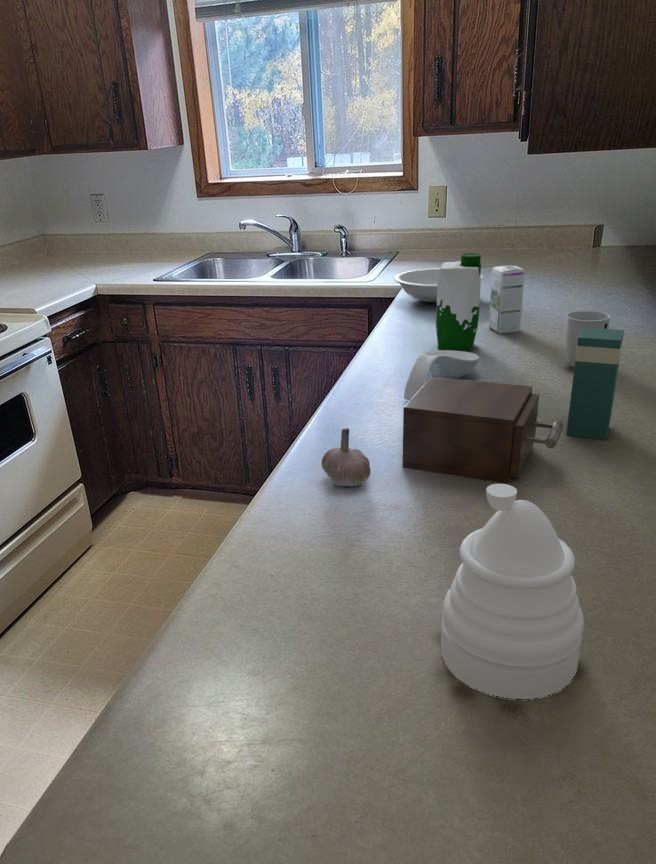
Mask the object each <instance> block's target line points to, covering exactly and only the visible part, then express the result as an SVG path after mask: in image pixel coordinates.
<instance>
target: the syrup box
mask: <svg viewBox="0 0 656 864" xmlns="http://www.w3.org/2000/svg"><path fill="white" fill-rule="evenodd" d="M491 271H492V272H491V285H490V304H489V320H488V321H489V323H488V328H489V329H490V330H492V331H494V332H495V333H497V334H511V333H520V332H521V326H522V325H521V324H522V313H523V312H522V311H523V299H524V286H525V285H524V283H525V271H526V270H525V269H524V268H522V267H519V266H516V265H499V266H494V267H492V270H491Z"/></svg>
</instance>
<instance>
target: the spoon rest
mask: <svg viewBox="0 0 656 864" xmlns="http://www.w3.org/2000/svg"><path fill="white" fill-rule="evenodd" d="M479 361H480V356H479V355H478V354H476V353H474V352H464V351H452V350H438V349H436V350H429V351H423V352H421V353H419V354H418V357H417V358H416V360H415V362H414V364H413V365H412V368H411V370H410V372H409V376H408V379H407V381H406V383H405V389H404V392H403V393H404V394H403V399H404V400H406V401H410V400H411V399H412V398H413V397H414V396H415V394H416V393H417V392H418V391H419V390H420V389H421V388H422V387H423V386H424V385H425V384H426V383H427V382H428V380H429V379H430V377H429V376H430V374H431V377H443V378H453V379H461V378H462V377H463V376H465V375H467V374H469V373H470V372H472V371H473V369H475V368H476V366H477V365H478V364H479Z"/></svg>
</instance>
